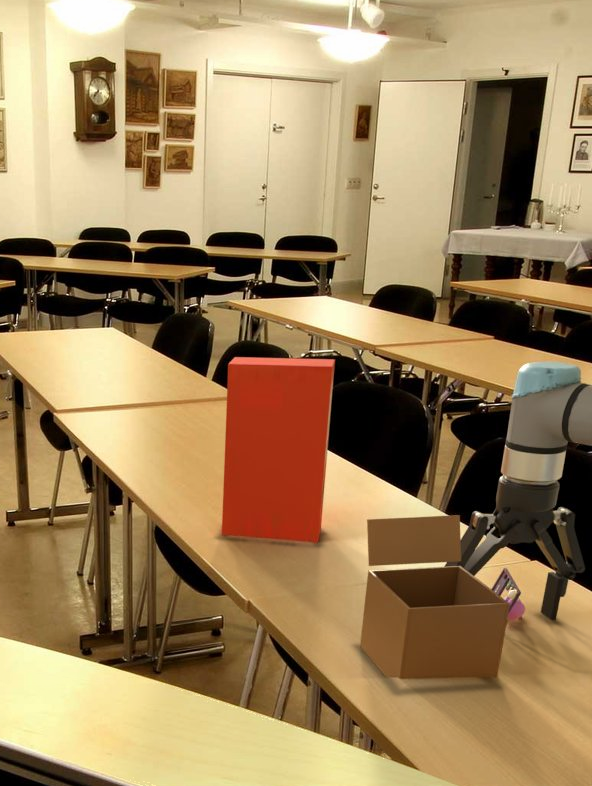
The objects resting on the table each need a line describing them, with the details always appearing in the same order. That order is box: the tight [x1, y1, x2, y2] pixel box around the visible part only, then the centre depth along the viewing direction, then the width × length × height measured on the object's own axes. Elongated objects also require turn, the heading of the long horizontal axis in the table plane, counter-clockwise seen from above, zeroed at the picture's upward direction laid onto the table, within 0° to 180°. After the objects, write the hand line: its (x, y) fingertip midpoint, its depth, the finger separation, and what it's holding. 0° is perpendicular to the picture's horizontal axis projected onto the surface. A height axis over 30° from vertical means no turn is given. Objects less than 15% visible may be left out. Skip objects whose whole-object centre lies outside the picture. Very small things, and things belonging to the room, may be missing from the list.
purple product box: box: [490, 567, 526, 620], centre depth 132 cm, size 7×5×9 cm
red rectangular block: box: [221, 356, 336, 544], centre depth 163 cm, size 8×17×32 cm, turn 71°
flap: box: [366, 514, 461, 567], centre depth 122 cm, size 6×13×1 cm
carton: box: [359, 566, 510, 680], centre depth 119 cm, size 13×13×11 cm
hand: (504, 619), depth 133 cm, fingers open, 12 cm apart
